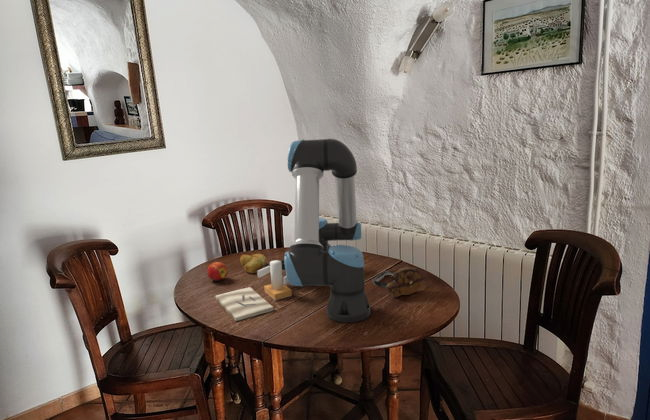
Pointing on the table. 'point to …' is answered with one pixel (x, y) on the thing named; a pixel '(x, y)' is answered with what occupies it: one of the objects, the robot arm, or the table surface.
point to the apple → (217, 271)
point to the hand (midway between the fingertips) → (270, 277)
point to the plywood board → (243, 303)
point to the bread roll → (253, 262)
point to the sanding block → (277, 282)
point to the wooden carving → (405, 282)
